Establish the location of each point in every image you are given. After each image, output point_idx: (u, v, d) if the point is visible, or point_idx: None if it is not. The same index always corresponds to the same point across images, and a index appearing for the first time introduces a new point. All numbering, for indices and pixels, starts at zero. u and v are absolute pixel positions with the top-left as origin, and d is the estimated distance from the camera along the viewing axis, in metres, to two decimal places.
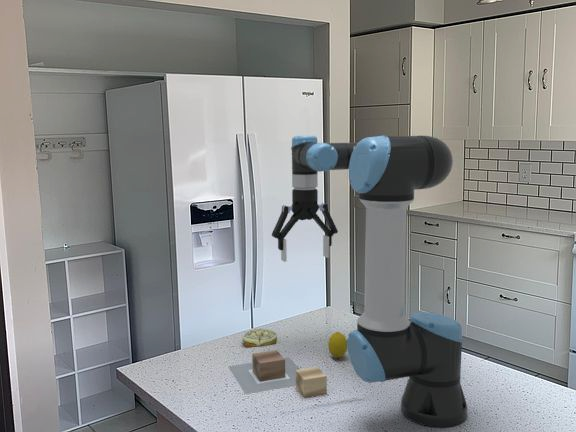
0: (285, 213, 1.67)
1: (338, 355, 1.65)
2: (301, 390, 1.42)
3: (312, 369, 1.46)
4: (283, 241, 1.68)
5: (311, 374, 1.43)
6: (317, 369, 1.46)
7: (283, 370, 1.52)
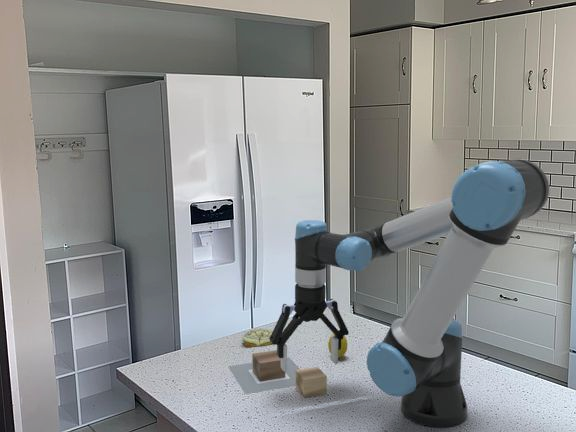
0: (286, 315, 1.38)
1: (338, 355, 1.65)
2: (301, 390, 1.42)
3: (312, 369, 1.46)
4: (283, 347, 1.40)
5: (311, 374, 1.43)
6: (317, 369, 1.46)
7: None
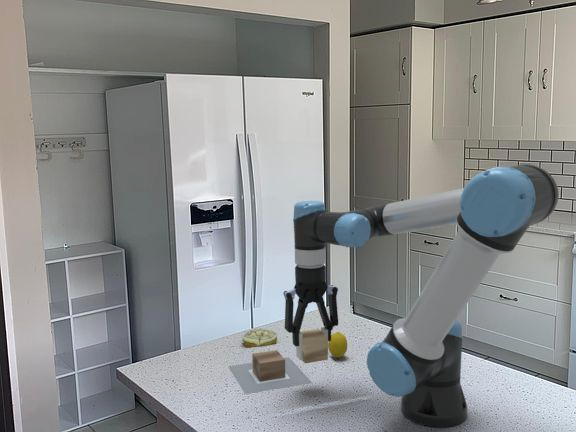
0: (290, 301, 1.38)
1: (338, 355, 1.65)
2: None
3: (313, 331, 1.44)
4: (299, 336, 1.40)
5: (312, 335, 1.41)
6: (318, 330, 1.44)
7: (283, 370, 1.52)
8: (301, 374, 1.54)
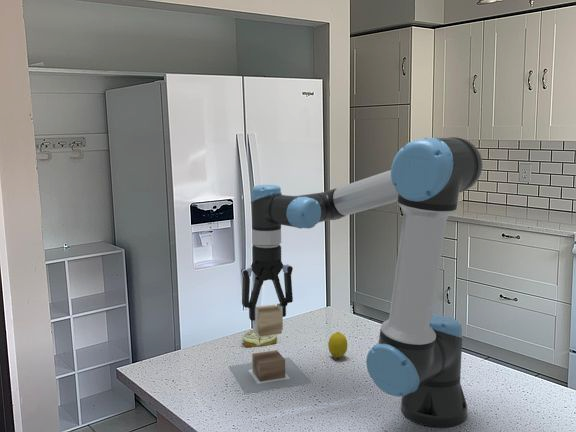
0: (246, 278, 1.47)
1: (338, 355, 1.65)
2: (258, 324, 1.50)
3: (269, 306, 1.54)
4: (255, 311, 1.49)
5: (268, 310, 1.51)
6: (274, 306, 1.54)
7: (283, 370, 1.52)
8: (301, 374, 1.54)
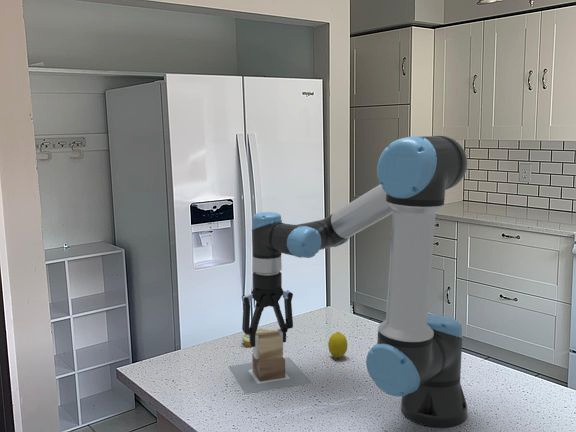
0: (247, 305, 1.48)
1: (338, 355, 1.65)
2: None
3: (269, 331, 1.55)
4: (255, 337, 1.51)
5: (268, 336, 1.52)
6: (274, 331, 1.55)
7: (283, 370, 1.52)
8: (301, 374, 1.54)
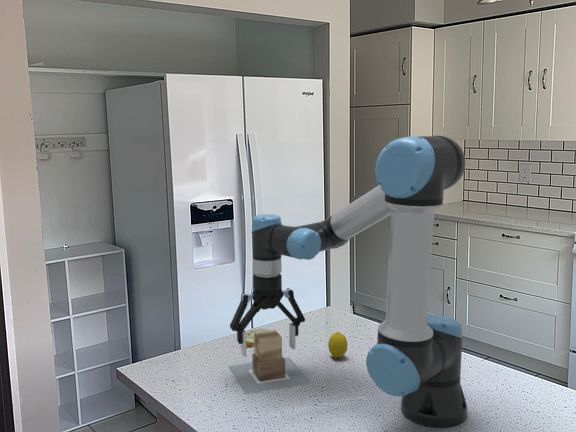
0: (244, 303, 1.48)
1: (338, 355, 1.65)
2: (258, 350, 1.51)
3: (269, 331, 1.55)
4: (242, 334, 1.49)
5: (268, 336, 1.52)
6: (274, 331, 1.55)
7: (283, 370, 1.52)
8: (301, 374, 1.54)
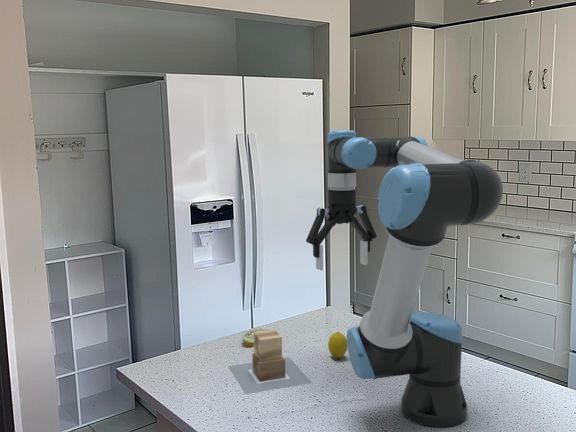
0: (322, 216, 1.50)
1: (338, 355, 1.65)
2: (258, 350, 1.51)
3: (269, 331, 1.55)
4: (319, 247, 1.51)
5: (268, 336, 1.52)
6: (274, 331, 1.55)
7: (283, 370, 1.52)
8: (301, 374, 1.54)
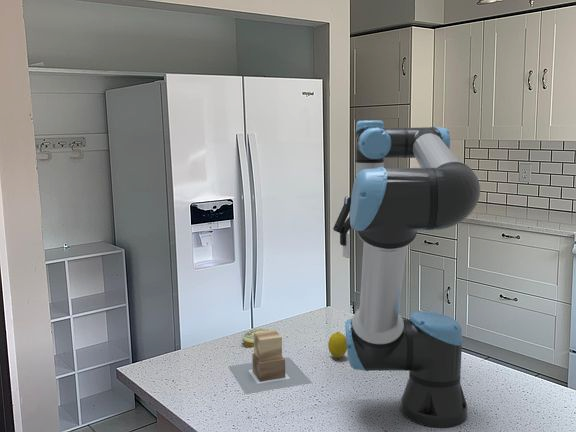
0: (349, 205, 1.53)
1: (338, 355, 1.65)
2: (258, 350, 1.51)
3: (269, 331, 1.55)
4: (346, 236, 1.54)
5: (268, 336, 1.52)
6: (274, 331, 1.55)
7: (283, 370, 1.52)
8: (301, 374, 1.54)
